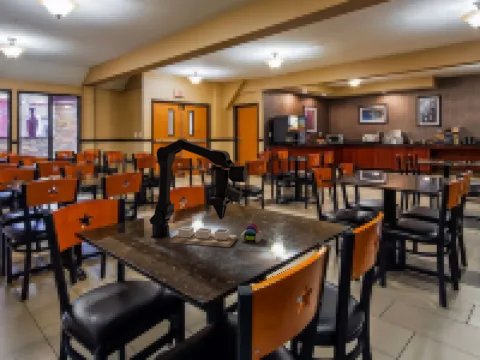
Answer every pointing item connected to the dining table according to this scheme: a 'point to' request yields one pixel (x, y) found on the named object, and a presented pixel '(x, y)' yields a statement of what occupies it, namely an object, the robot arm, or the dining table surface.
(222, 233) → the tile three
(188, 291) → the dining table surface
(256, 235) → the rainbow lobed toy
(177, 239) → the tan curved board
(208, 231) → the tile two
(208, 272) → the dining table surface
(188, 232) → the tile one
